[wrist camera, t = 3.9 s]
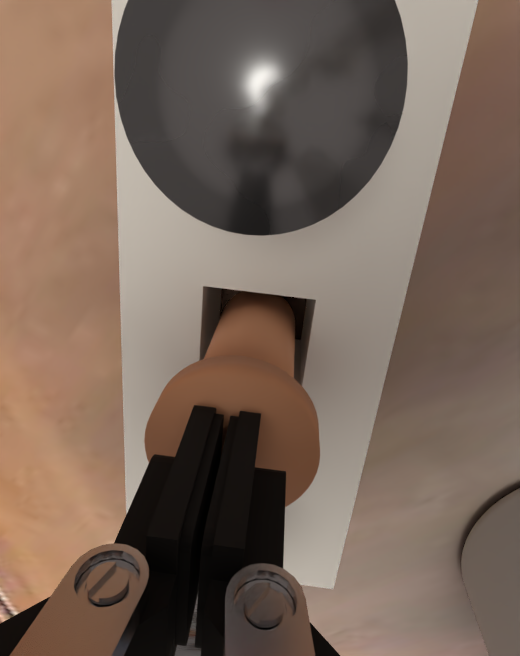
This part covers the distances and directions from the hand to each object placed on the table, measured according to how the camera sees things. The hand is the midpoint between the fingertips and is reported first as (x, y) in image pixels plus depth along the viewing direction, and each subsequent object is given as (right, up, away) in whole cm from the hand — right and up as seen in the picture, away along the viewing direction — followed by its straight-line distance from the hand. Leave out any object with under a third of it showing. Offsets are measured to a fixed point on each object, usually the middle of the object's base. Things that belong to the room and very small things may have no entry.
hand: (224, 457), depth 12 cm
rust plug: (+1, +3, +7) cm, 8 cm away
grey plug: (+2, +10, +3) cm, 11 cm away
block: (+1, +5, +10) cm, 11 cm away
